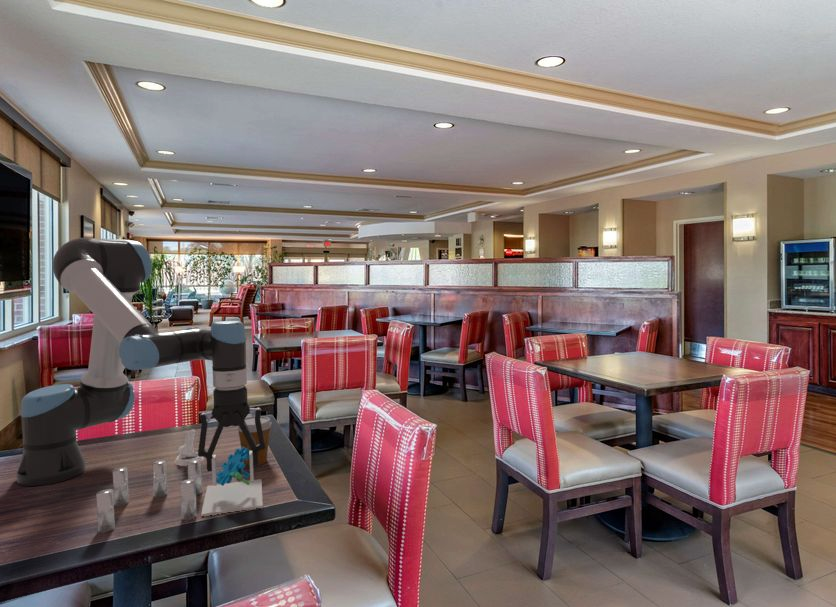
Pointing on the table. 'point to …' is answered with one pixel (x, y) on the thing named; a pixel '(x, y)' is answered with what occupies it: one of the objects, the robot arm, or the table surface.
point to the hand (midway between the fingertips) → (233, 481)
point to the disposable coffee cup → (256, 437)
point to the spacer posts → (121, 494)
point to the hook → (187, 450)
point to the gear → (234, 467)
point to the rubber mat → (232, 497)
